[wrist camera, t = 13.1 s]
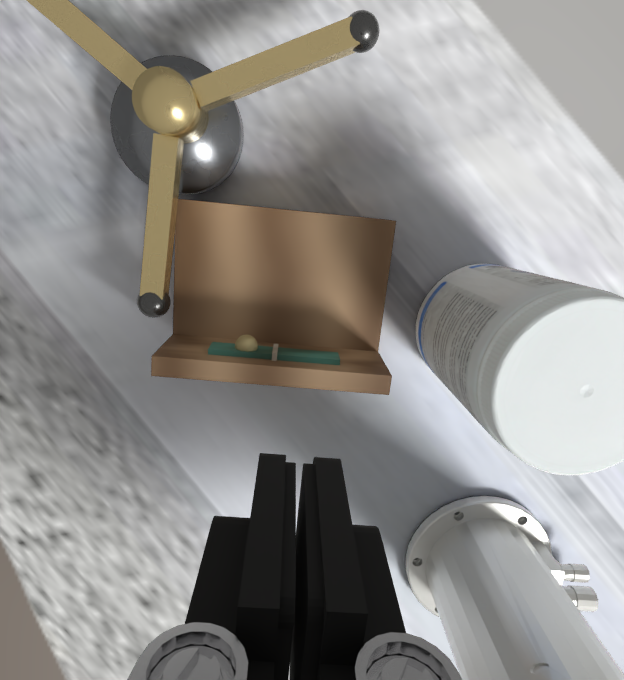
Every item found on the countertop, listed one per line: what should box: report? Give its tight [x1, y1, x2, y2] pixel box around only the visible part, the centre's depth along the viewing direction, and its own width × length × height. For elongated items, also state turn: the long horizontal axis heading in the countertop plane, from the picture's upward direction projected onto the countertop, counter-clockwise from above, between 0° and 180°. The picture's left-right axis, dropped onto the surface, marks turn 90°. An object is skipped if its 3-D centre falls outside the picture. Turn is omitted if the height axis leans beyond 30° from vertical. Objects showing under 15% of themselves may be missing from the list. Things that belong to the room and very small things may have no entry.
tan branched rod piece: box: [27, 0, 379, 318], centre depth 29 cm, size 22×19×7 cm
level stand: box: [151, 199, 396, 395], centre depth 31 cm, size 14×10×9 cm
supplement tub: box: [416, 264, 624, 475], centre depth 30 cm, size 10×10×15 cm
